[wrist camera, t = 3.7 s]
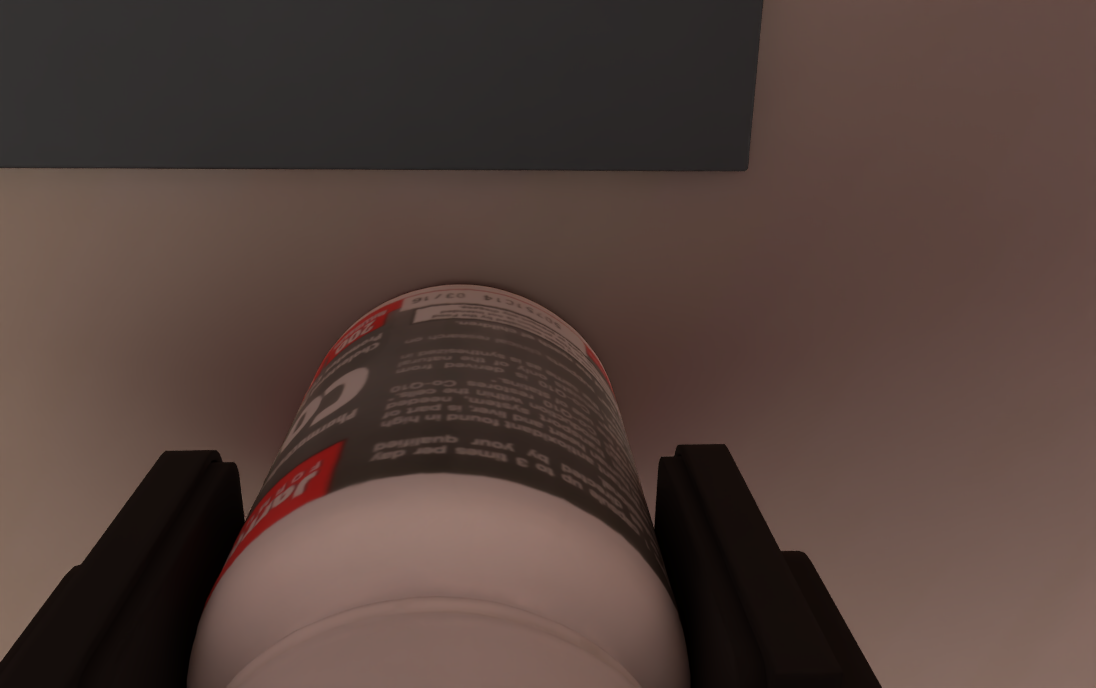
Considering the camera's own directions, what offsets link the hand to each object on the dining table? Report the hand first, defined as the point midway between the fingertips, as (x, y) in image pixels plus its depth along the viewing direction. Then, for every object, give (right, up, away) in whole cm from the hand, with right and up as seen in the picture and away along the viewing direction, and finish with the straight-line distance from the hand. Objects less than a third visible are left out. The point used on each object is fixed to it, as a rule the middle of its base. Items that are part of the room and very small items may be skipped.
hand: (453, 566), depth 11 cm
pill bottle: (0, +1, +4) cm, 4 cm away
